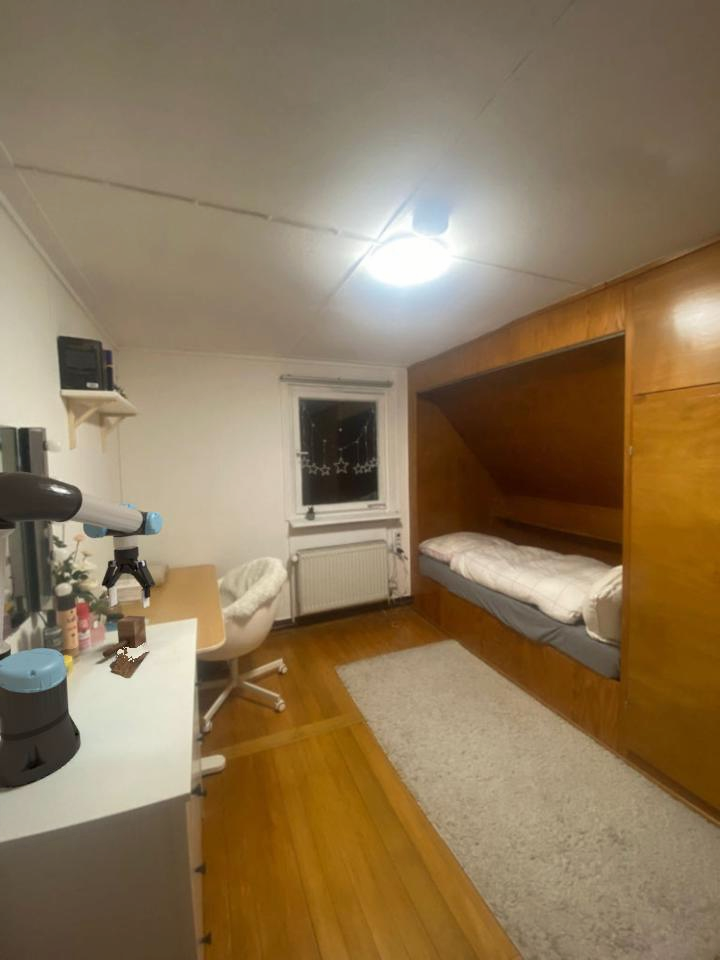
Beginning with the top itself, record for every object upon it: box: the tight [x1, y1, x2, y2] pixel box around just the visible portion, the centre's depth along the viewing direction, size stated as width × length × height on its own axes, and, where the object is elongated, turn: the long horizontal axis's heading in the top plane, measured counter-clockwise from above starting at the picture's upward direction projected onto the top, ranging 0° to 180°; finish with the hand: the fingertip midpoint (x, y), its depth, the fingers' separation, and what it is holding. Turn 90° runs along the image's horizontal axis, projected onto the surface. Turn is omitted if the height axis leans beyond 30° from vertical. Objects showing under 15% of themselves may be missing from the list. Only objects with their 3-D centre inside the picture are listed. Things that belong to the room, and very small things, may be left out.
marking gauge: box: [102, 615, 147, 658], centre depth 134 cm, size 14×7×10 cm, turn 168°
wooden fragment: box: [109, 648, 150, 679], centre depth 129 cm, size 26×11×1 cm, turn 24°
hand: (129, 606), depth 138 cm, fingers open, 13 cm apart
